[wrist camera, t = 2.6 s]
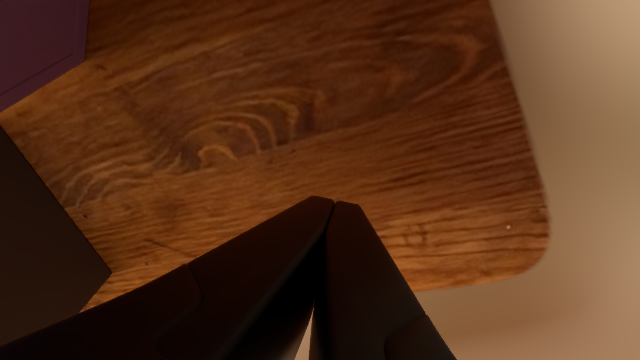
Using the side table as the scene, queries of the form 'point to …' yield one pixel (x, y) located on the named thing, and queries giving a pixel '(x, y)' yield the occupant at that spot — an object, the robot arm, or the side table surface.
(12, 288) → the desk stand
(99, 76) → the side table surface
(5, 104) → the file holder
